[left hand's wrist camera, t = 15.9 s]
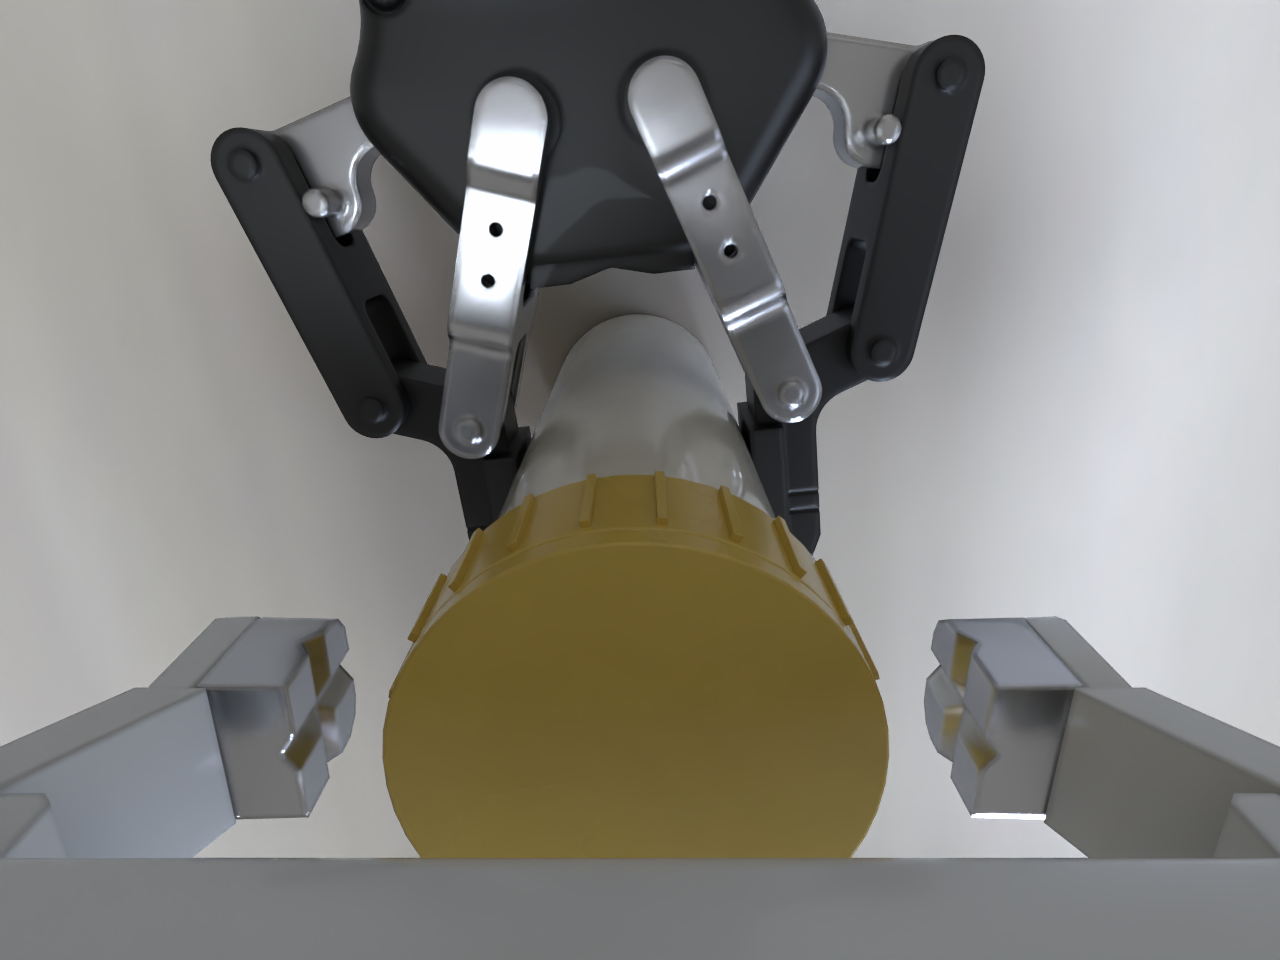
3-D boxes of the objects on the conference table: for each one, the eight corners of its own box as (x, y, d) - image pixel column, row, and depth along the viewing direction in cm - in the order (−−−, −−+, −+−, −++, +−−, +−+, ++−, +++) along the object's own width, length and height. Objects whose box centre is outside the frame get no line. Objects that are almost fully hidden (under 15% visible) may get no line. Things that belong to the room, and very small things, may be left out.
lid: (347, 549, 10) (279, 633, 8) (788, 406, 9) (825, 462, 7) (516, 874, 12) (494, 1005, 10) (893, 774, 11) (944, 893, 9)
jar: (613, 281, 22) (564, 460, 8) (750, 371, 23) (934, 682, 9) (528, 417, 24) (353, 785, 9) (661, 498, 25) (692, 947, 10)
